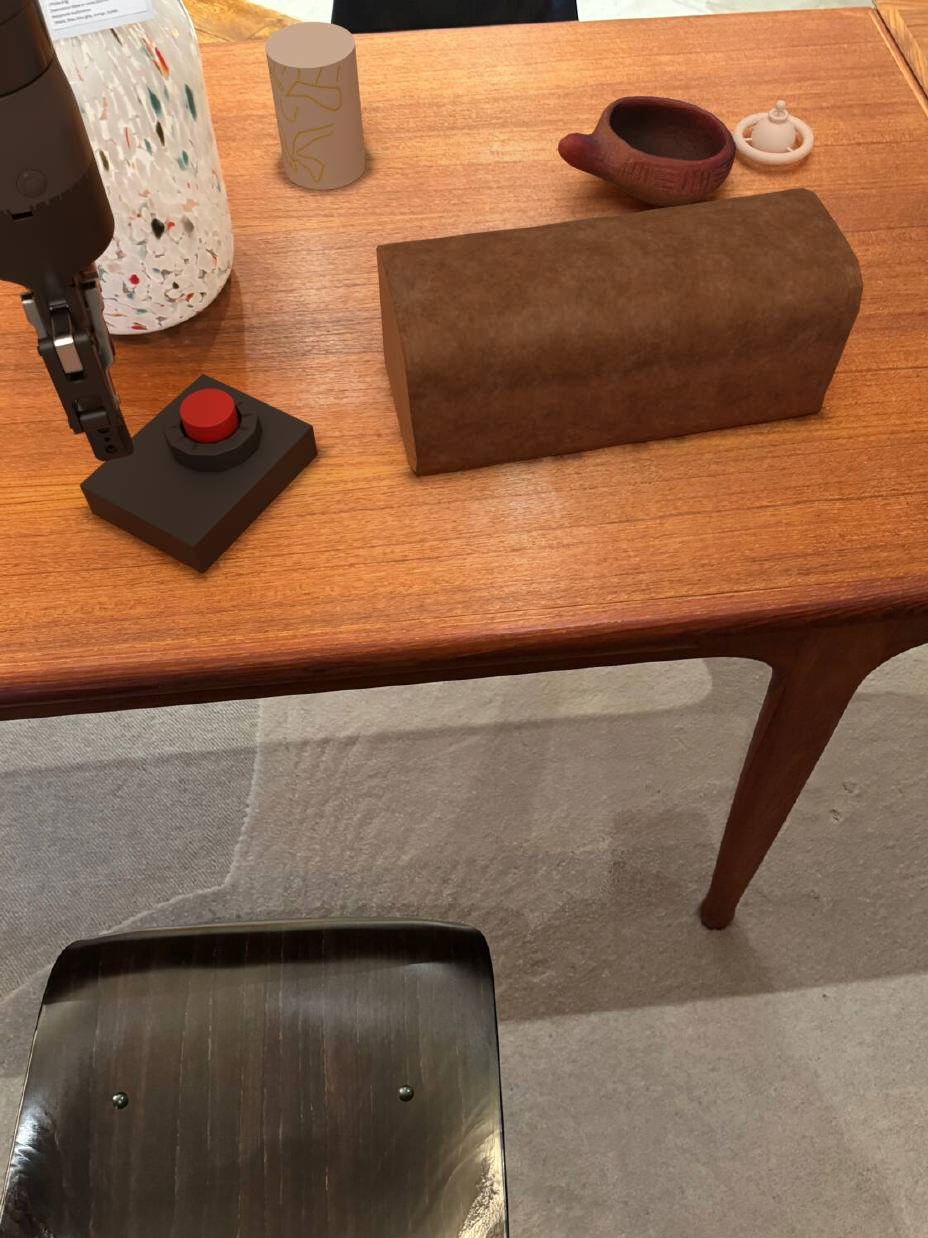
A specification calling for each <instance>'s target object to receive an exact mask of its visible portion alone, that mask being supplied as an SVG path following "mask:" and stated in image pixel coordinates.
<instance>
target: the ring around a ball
mask: <svg viewBox="0 0 928 1238" xmlns="http://www.w3.org/2000/svg"><path fill="white" fill-rule="evenodd" d="M786 105H787V104H786V102H785V101H784V100H782V99H780V100H777V102H776V103H775V106H774V107H773V108H771V109H770V110H768V111H767V112H766V111H763V112H758V113H753V114H750V115H748V116H746V117H744V118H742V119H741V120H740V121H738V123H736V125H735V126H734V127H733V130H732V132H731V134H732V137H733V140H734V141H735V142H736V151H738V153H739V154H740V155H742V156H743V157H745V158H746V159H748V160H750V161H752V162H755V163H758V164H763V165H768V166H769V165H770V166H783V165H789V164H793V163H796V162H799V161H800V160H801V161H802V159H804V158H806V157H807V156H808V155H809V154H810V153H811V151H812V150H813V148H814V144H815V135H814V132H813V131H812V129H811V127H810V126H809V125H808V124H807V123H805V121H803V120H802V119H799V118H798V117H796V116H793V115H790V114H789V112H788V110H786ZM752 127H753V129H752V132H751V134H750V137H746V138H745V137H744V133H745V132H746V131H747V130H748V129H751V128H752ZM797 134H798V135H800V137H801V138H802V144H801V145H800V146H799V147H797V148H796V149H793V148H794V146H795V143H796V137H797V136H796V135H797ZM748 142H750V145H749V143H748Z"/></svg>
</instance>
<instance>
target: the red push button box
mask: <svg viewBox="0 0 928 1238" xmlns="http://www.w3.org/2000/svg"><path fill="white" fill-rule="evenodd" d="M203 389H218V390H221V391H224V392H226V393H227V394H229V395H230V396H231V398H232V399H233V401H234V405H235V409H236V413H237V417H238V425H237V428H236V430H235V431H234V433H233V434H232V435H230V436H229V437H228V438H226V439H224V440H222V441H219V442H215V443H201V442H197V441H195V440H193V439H191V438H190V437H189V436H188V435H187V433H186V431H185V429H184V425H183V422H182V419H181V416H180V407H181V404H182V402H183V401H184V400H185V399H186V398H187V397H188V396H189V395H191V394H192V393H194V392H197V391H199V390H203ZM131 439H132V442H133V447H134V452H133V453H132V454H131V455H129V456H126V457H121V458H117V459H113V460H108V461H103V463H102V464H101V465H100V466H99V467H97V468H96V469H95V470H94V471H93V472H92V473H90V475H88V476H87V477H86V478H85V479H84V480H83V481H81V482H80V484H79V488H80V490H81V492H82V494H83V496H84V499H85V501H86V503H87V505H88V508H89V509H90V511H91V513H92V514H93V515H95V516H97V517H99V518H101V519H103V520H104V521H106V522H108V523H110V524H112V525H113V526H115V527H117V528H119V529H121V530H122V531H124V532H126V533H128V534H130V535H131V536H133V537H135V538H137V539H139V540H141V541H143V542H144V543H146V544H148V545H149V546H152V547H153V548H155V549H157V550H158V551H160V552H162V553H164V554H166V555H167V556H169V557H172V558H173V559H175V560H177V561H179V562H181V563H182V564H184V565H186V566H188V567H190V568H191V569H193V570H195V571H197V572H199V574H205V573H206V571H207V570H208V569H209V568H210V567H211V566H212V565H213V564H214V563H215V562H216V561H217V560H218V559H219V558H220V557H221V555H223V554H224V553H225V552H226V550H227V549H229V547H230V546H231V545H232V544H233V543H234V542H235V541H236V540H237V539H238V538H239V537H240V536H241V535H242V534H243V533H244V532H245V531H246V530H247V529H248V527H249V526H250V525H251V524H253V522H254V521H256V519H257V518H258V517H259V516H260V515H261V514H262V513H263V512H264V511H266V509H267V508H268V507H269V506H270V505H271V504H272V503H273V501H274V500H275V499H277V497H278V496H279V495H280V494H282V492H283V491H284V490H285V489H286V488H287V487H288V486H289V485H290V484H291V483H292V482H293V481H294V480H295V479H296V478H297V477H298V476H299V475H300V474H301V472H302V471H303V470H304V469H305V468H306V467H307V466H308V465H309V464H310V463H311V462H312V461H313V460H314V459H315V458H316V457H317V456H318V454H319V453H318V448H317V443H316V442H317V441H316V436H315V430H314V425H313V424H311V423H308V422H307V421H304V420H302V419H300V418H298V417H295V416H293V415H291V414H290V413H287V412H285V411H284V410H282V409H279V408H277V407H275V406H273V405H270V404H269V403H266V402H264V401H262V400H260V399H258V398H255V397H253V396H252V395H250V394H247V393H245V392H243V391H241V390H238V389H236V388H235V387H232V386H231V385H228V384H226V383H224V382H222V381H220V380H218V379H216V378H213V377H212V376H210V375H207V374H206V373H201V374H200V375H199V376H198V377H197V378H196V379H195V380H194V381H192V383H191V384H189V385H188V386H187V387H186V388H184V390H183V391H182V392H180V393H179V394H178V395H177V396H176V397H175V398H174V399H173V400H171V401H170V402H169V403H168V404H167V405H166V406H164V408H163V409H162V410H160V411H159V412H158V413H157V414H156V415H155V416H154V417H153V418H151V420H149V421H148V422H147V423H146V424H145V425H144V426H143V427H141V429H140V430H138V431H137V432H136V433H135V434H134V435H133V436H131Z"/></svg>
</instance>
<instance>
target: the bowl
mask: <svg viewBox="0 0 928 1238" xmlns="http://www.w3.org/2000/svg"><path fill="white" fill-rule="evenodd" d="M557 151H558V154H559V156H560V157H561V159H563V161H564V162H565V163H567V164H568V165H569V166H570V167H572V168H574V169H577V170H579V171H581V172H584V173H586V174H589V175H591V176H595V177H597V178H599V179H601V180H603V181H606V182H607V183H610V184H611V185H613V186H615V187H617V188H618V189H619V190H621V192H624V193H625V194H627V195H629V196H631V197H633V198H635V199H637V200H639V201H641V202H644V203H647V204H650V205H654V206H659V207H664V208H668V207H676V206H684V205H691V204H694V203H697V202H699V201H700V200H703V199H705V198H707V197H708V196H709V195H711V194H712V193H714V192H715V191H716V190H718V189H719V188H720V187H721V185H722V184H723V183H724V182H725V180H726V179H727V177H729V175H730V173H731V171H732V169H733V167H734V166H733V165H734V162H735V159H736V155H737V149H736V142H735V141H734V140H733V137H732V132H731V131H730V130H729V129H728V127H727V126H726V124H725V123H724V122H723V121H722V120H720V119H719V118H718V117H717V115H715V114H714V113H712V112H710V111H708V110H706V109H704V108H702V107H699V106H698V105H696V104H693V103H689V102H686V101H683V100H681V99H680V100H679V99H675V98H669V97H660V96H652V95H632V96H623V97H621V98H618V99H615V100H613V101H612V102H610V103H609V104H608V105H607V106H606V107H605V108H604V109H603V111H602V112H601V114H600V116H599V118H598V122H597V124H596V127H595V128H594V129H593V131H592V132H591V133H589V134H586V133H580V132H571V133H570V132H569V133H568V134H566V135H565V136H564V137H563V138H560V140H559V141H558V144H557Z"/></svg>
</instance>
